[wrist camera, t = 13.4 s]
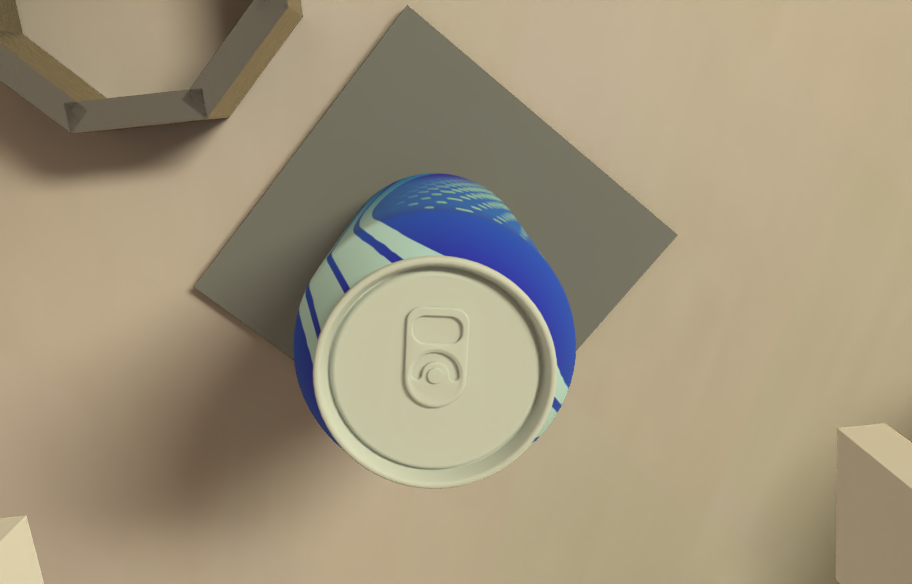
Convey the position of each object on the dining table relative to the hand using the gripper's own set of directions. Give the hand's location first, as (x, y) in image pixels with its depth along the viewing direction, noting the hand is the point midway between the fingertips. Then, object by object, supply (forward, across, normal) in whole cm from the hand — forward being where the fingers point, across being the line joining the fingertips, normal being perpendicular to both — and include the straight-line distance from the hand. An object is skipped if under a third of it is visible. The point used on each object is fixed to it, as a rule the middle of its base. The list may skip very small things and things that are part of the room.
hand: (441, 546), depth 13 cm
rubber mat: (+25, 0, 0) cm, 25 cm away
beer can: (+25, 0, 0) cm, 25 cm away
